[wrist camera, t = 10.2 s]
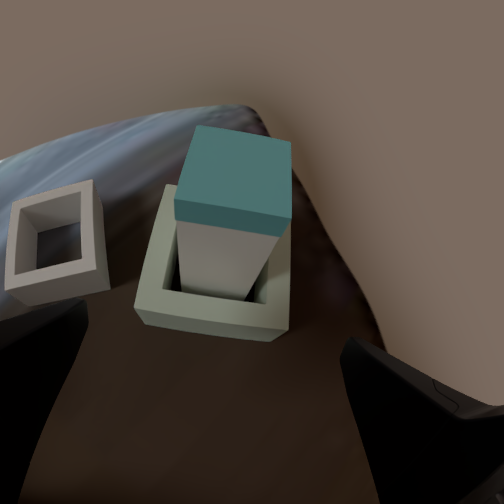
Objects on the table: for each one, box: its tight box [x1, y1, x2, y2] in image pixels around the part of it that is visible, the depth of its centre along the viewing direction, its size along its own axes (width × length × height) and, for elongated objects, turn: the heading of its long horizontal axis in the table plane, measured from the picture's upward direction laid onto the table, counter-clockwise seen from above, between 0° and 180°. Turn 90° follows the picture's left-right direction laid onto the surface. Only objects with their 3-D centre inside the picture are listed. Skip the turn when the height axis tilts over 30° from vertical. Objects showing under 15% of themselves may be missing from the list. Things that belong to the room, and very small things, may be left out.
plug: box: [174, 125, 292, 301], centre depth 17 cm, size 5×5×12 cm
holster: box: [5, 179, 111, 307], centre depth 19 cm, size 8×8×4 cm
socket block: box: [134, 184, 291, 342], centre depth 21 cm, size 10×10×4 cm
